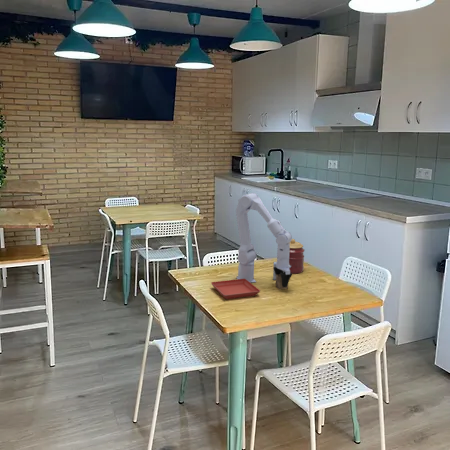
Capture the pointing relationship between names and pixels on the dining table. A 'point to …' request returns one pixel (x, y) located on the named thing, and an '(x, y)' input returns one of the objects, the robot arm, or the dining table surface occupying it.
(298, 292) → the dining table surface
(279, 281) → the walnut block
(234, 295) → the plant saucer
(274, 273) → the medicine box
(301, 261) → the canister
